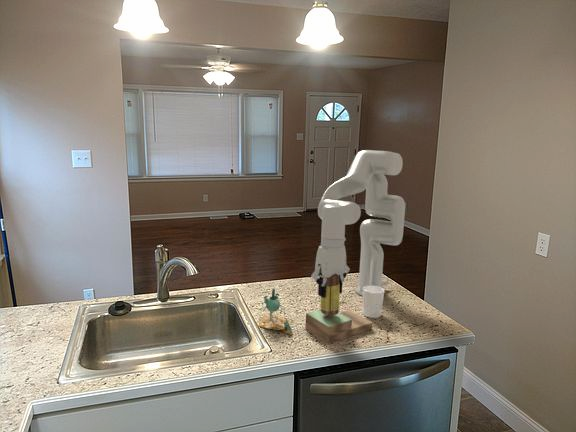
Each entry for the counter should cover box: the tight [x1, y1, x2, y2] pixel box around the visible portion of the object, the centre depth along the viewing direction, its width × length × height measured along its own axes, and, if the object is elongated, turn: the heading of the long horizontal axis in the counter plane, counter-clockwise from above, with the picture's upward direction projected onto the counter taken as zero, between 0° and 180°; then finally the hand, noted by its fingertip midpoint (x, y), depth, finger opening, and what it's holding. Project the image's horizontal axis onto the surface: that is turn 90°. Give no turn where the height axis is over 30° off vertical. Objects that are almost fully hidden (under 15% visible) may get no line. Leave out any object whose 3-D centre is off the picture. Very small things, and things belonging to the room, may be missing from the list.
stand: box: [304, 308, 374, 345], centre depth 147 cm, size 20×12×6 cm, turn 125°
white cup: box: [362, 286, 385, 319], centre depth 160 cm, size 8×8×10 cm
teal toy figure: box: [258, 287, 293, 336], centre depth 148 cm, size 10×18×15 cm, turn 30°
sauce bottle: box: [320, 274, 340, 315], centre depth 142 cm, size 6×6×20 cm
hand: (330, 293), depth 143 cm, fingers closed on sauce bottle, 6 cm apart
